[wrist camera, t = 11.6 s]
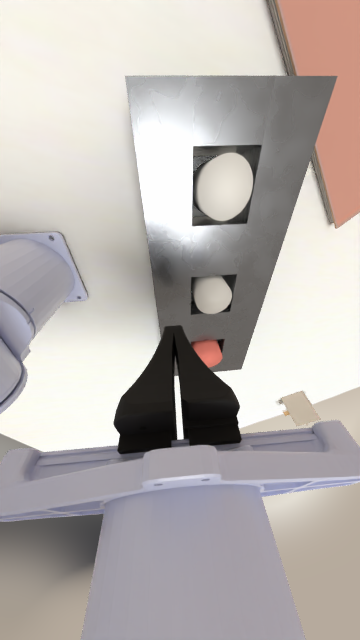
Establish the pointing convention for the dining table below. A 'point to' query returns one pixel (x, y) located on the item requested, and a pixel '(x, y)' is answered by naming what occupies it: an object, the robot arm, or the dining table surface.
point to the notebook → (347, 97)
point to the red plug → (208, 351)
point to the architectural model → (299, 408)
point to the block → (261, 209)
